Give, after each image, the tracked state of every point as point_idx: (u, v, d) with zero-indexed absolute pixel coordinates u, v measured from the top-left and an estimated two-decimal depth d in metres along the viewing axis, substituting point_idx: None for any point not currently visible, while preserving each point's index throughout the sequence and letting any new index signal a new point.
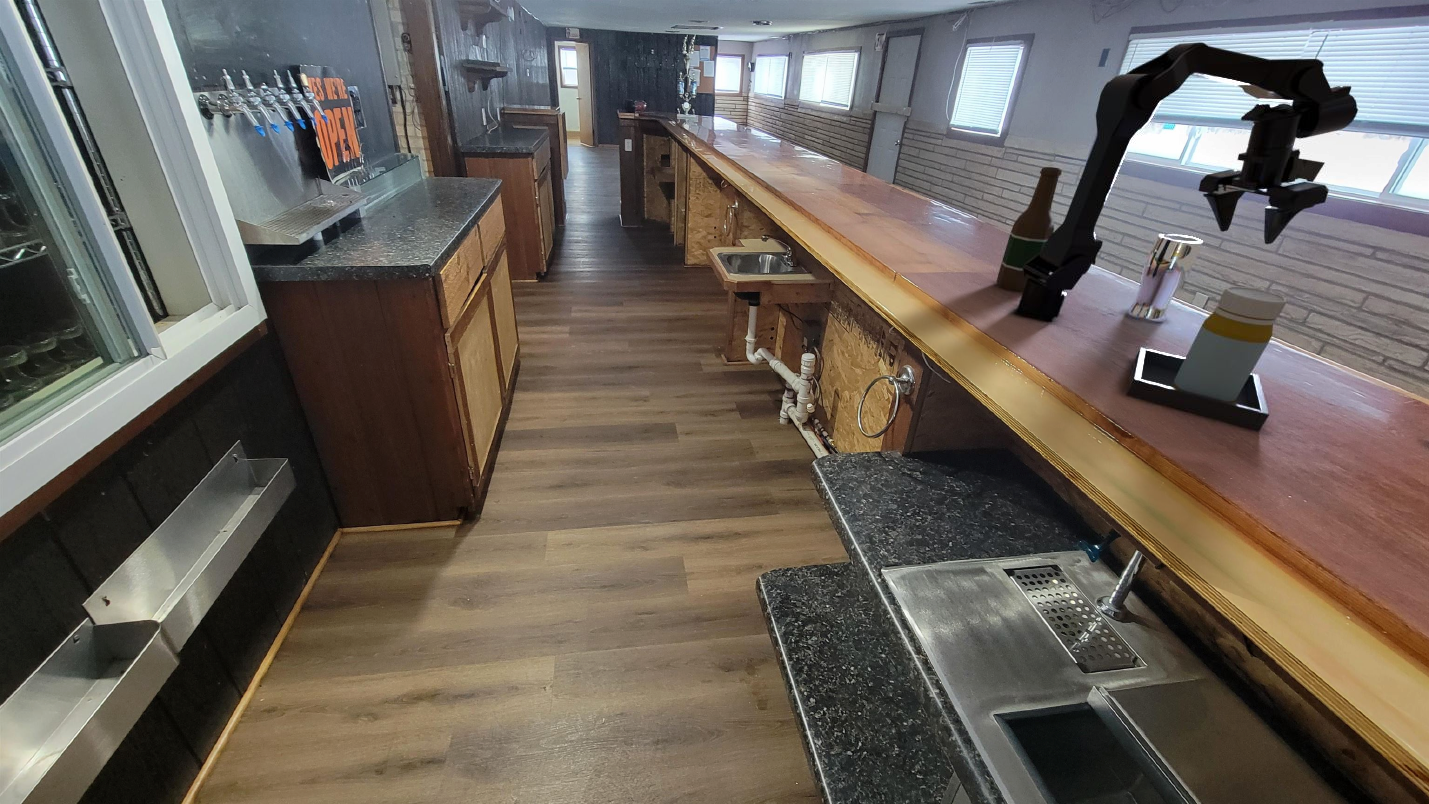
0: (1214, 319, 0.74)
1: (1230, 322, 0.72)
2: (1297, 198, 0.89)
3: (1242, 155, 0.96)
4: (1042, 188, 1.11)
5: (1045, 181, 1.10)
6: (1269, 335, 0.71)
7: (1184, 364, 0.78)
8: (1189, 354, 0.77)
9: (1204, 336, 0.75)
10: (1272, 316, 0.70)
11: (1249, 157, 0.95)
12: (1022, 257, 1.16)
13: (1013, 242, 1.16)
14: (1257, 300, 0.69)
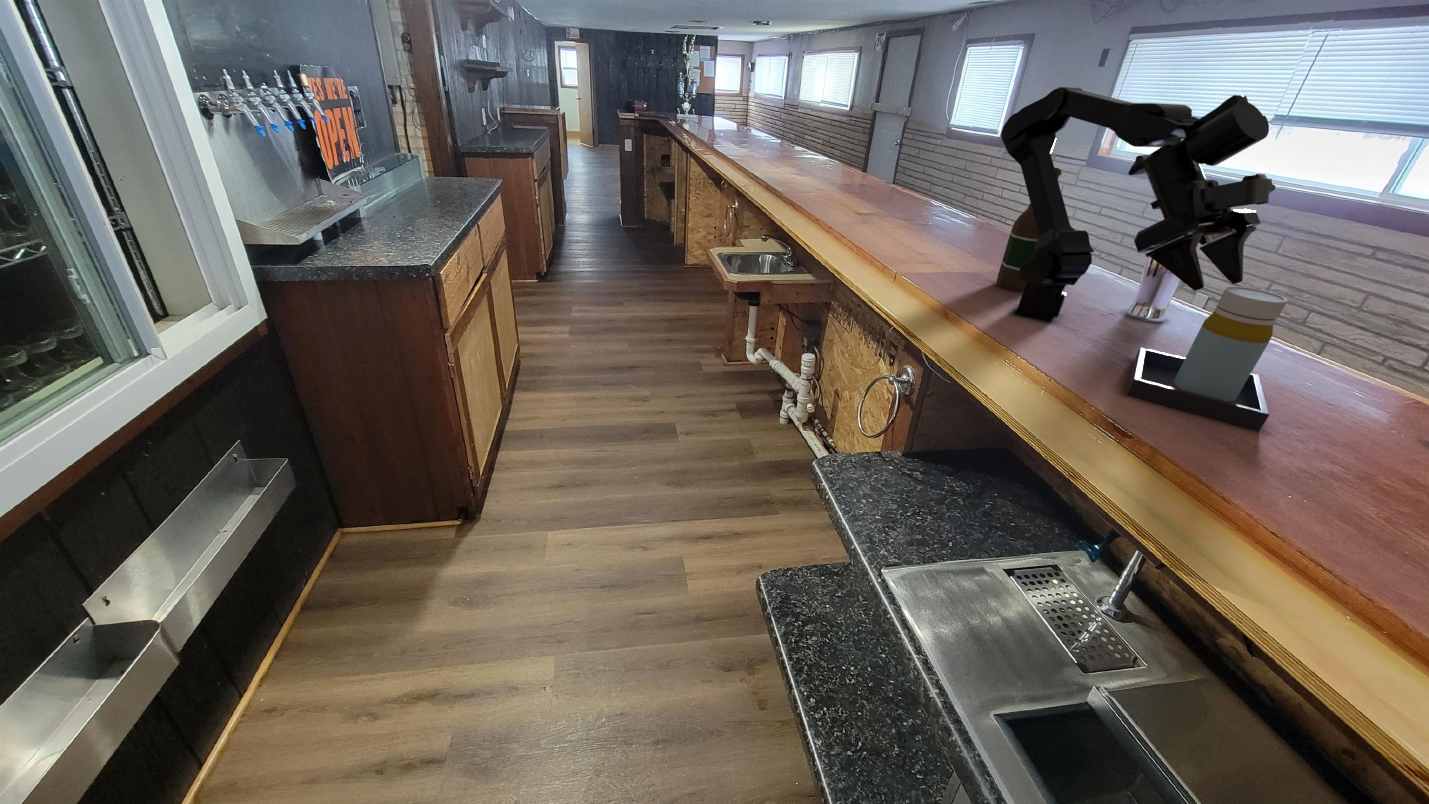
0: (1214, 319, 0.74)
1: (1231, 322, 0.72)
2: (1137, 238, 0.79)
3: None
4: None
5: None
6: (1269, 335, 0.71)
7: (1184, 364, 0.78)
8: (1189, 354, 0.77)
9: (1204, 336, 0.75)
10: (1272, 316, 0.70)
11: None
12: (1022, 257, 1.16)
13: (1013, 242, 1.16)
14: (1257, 300, 0.69)
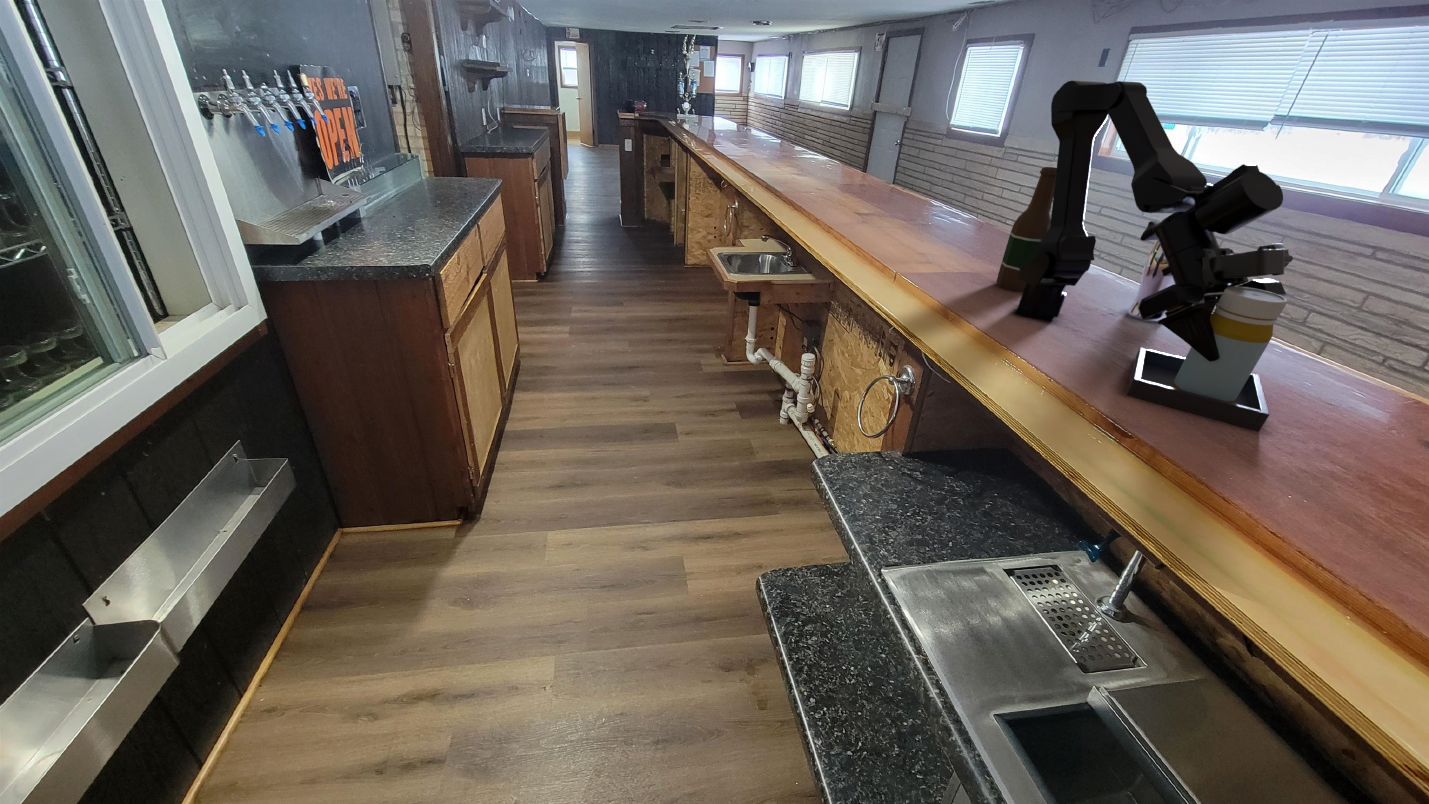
0: (1214, 319, 0.74)
1: (1231, 322, 0.72)
2: (1140, 306, 0.76)
3: None
4: (1042, 188, 1.11)
5: (1045, 181, 1.10)
6: (1269, 335, 0.71)
7: (1184, 364, 0.78)
8: (1189, 354, 0.77)
9: None
10: (1272, 316, 0.70)
11: None
12: (1022, 257, 1.16)
13: (1013, 242, 1.16)
14: (1257, 300, 0.69)
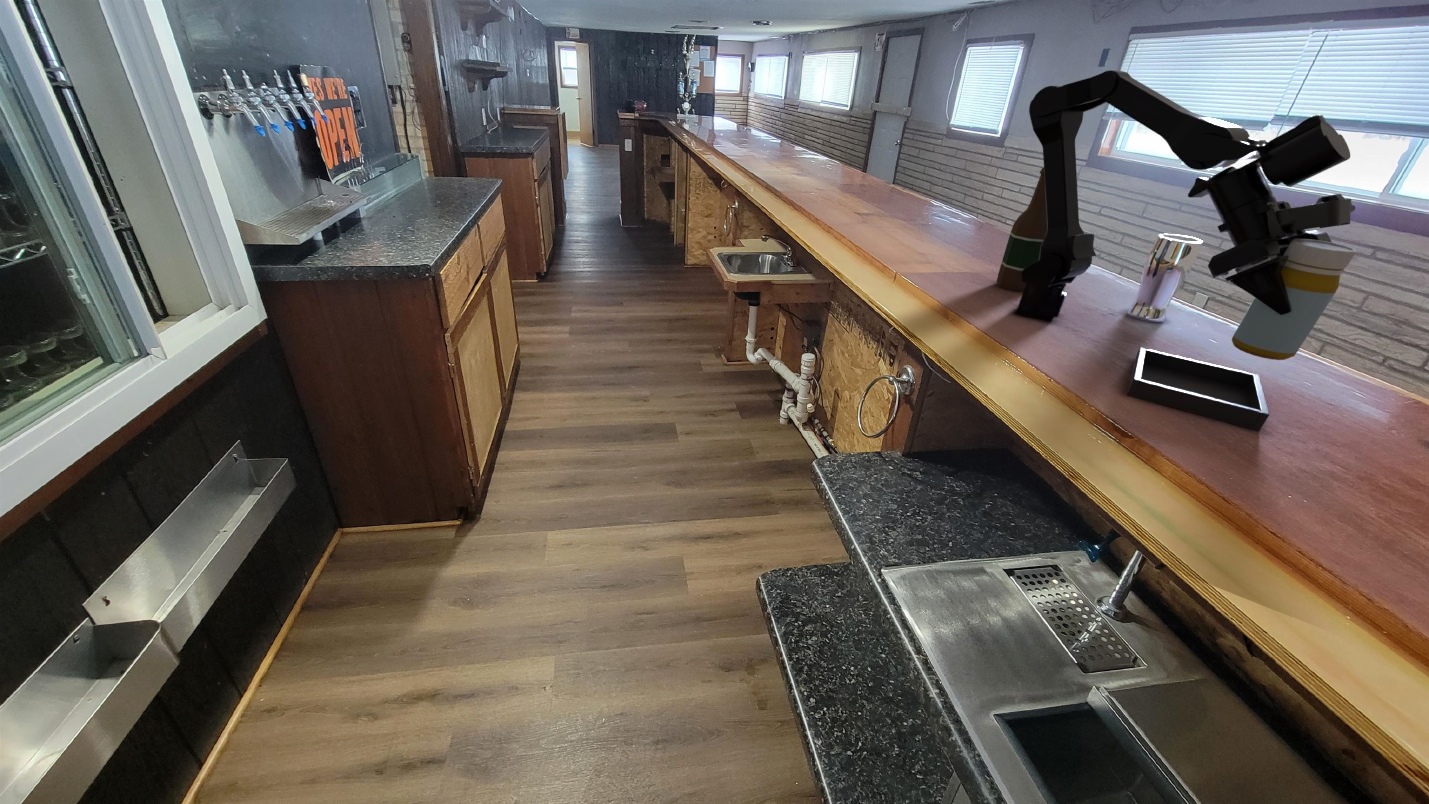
0: (1284, 272, 0.74)
1: (1304, 274, 0.72)
2: (1212, 263, 0.75)
3: None
4: (1042, 188, 1.11)
5: None
6: (1338, 285, 0.72)
7: (1248, 319, 0.78)
8: (1254, 309, 0.77)
9: None
10: (1344, 266, 0.71)
11: None
12: (1022, 257, 1.16)
13: (1013, 242, 1.16)
14: (1333, 251, 0.70)
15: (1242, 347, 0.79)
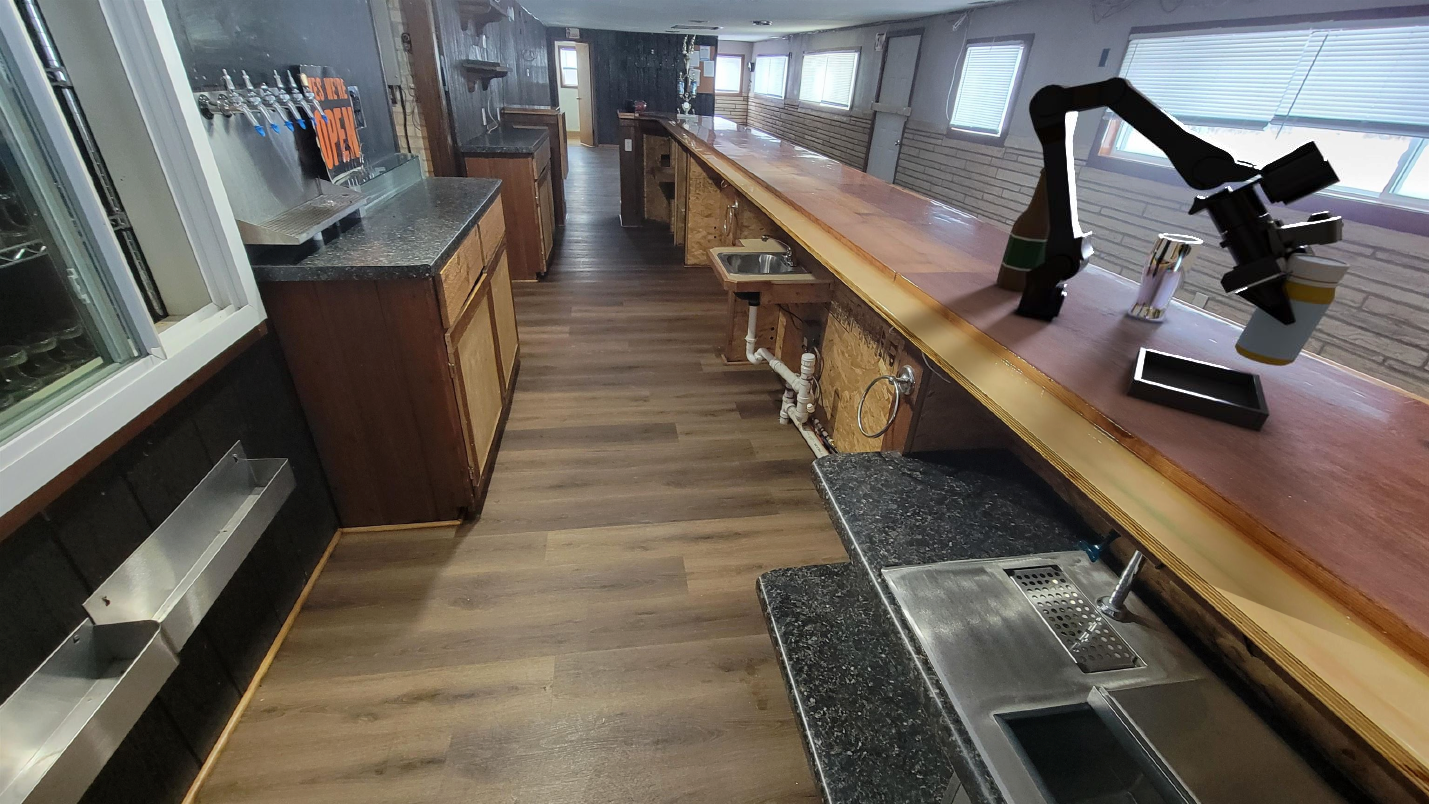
0: (1287, 286, 0.79)
1: (1306, 287, 0.78)
2: (1225, 280, 0.79)
3: None
4: (1042, 188, 1.11)
5: None
6: None
7: (1253, 329, 0.83)
8: (1258, 320, 0.83)
9: None
10: (1341, 279, 0.77)
11: None
12: (1022, 257, 1.16)
13: (1013, 242, 1.16)
14: (1333, 266, 0.75)
15: (1248, 355, 0.84)
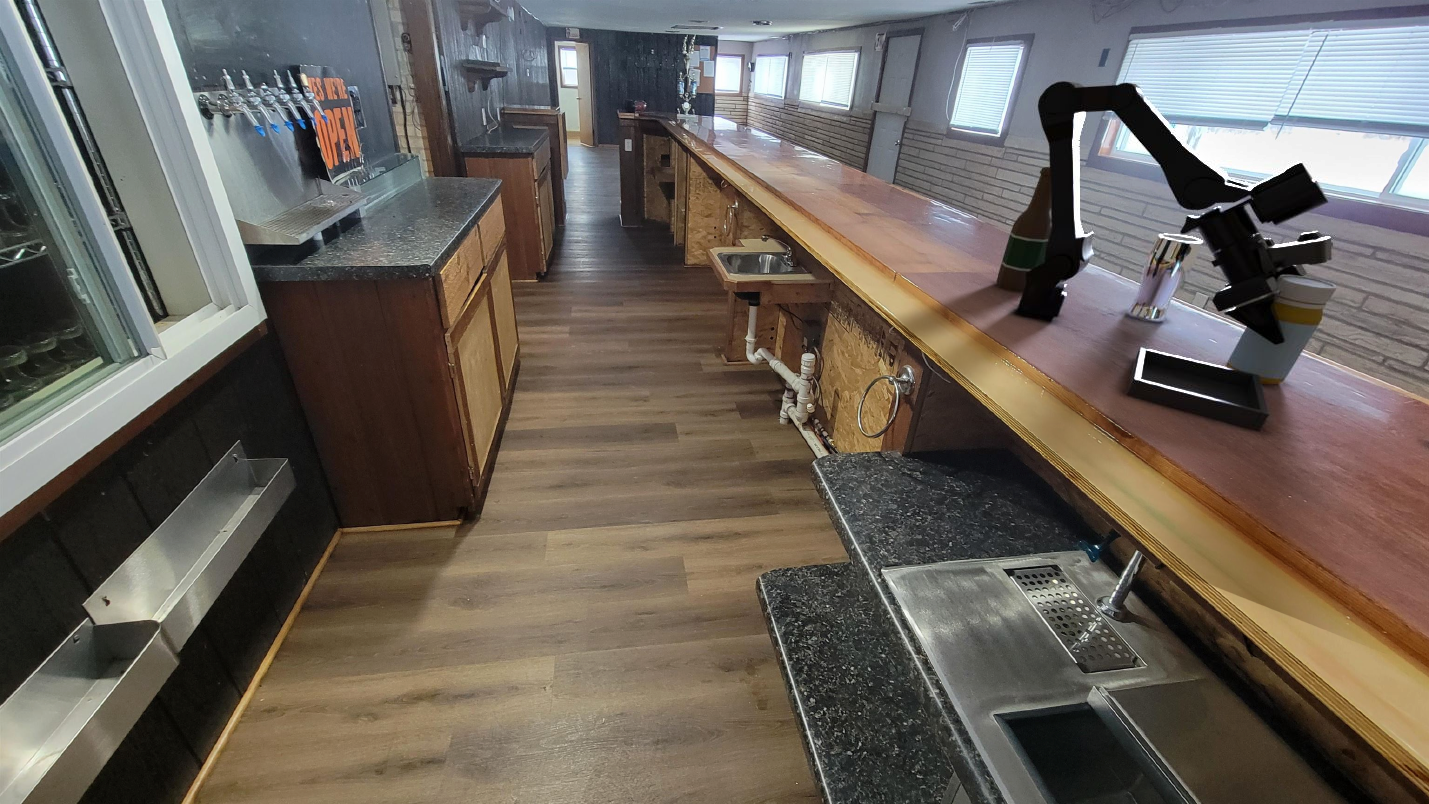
0: (1275, 307, 0.81)
1: (1294, 308, 0.79)
2: (1217, 299, 0.81)
3: None
4: (1042, 188, 1.11)
5: (1045, 181, 1.10)
6: (1321, 317, 0.80)
7: (1243, 349, 0.85)
8: (1248, 339, 0.84)
9: None
10: (1328, 300, 0.78)
11: None
12: (1022, 257, 1.16)
13: (1013, 242, 1.16)
14: (1319, 288, 0.77)
15: None
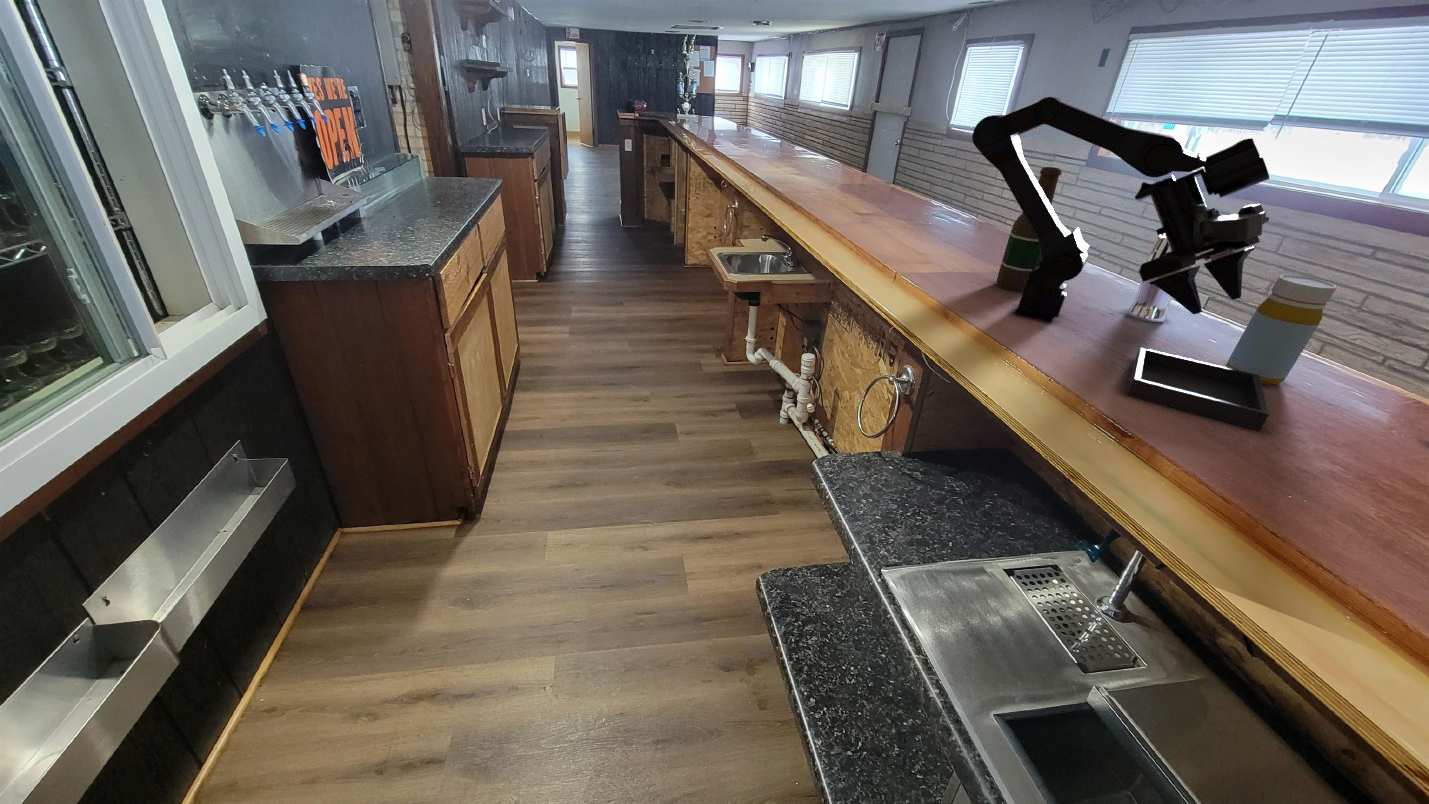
0: (1275, 307, 0.81)
1: (1294, 308, 0.79)
2: (1141, 270, 0.88)
3: None
4: (1042, 188, 1.11)
5: (1045, 181, 1.10)
6: (1321, 317, 0.80)
7: (1243, 349, 0.85)
8: (1248, 339, 0.84)
9: (1266, 322, 0.82)
10: (1327, 300, 0.78)
11: None
12: (1022, 257, 1.16)
13: (1013, 242, 1.16)
14: (1319, 288, 0.77)
15: None
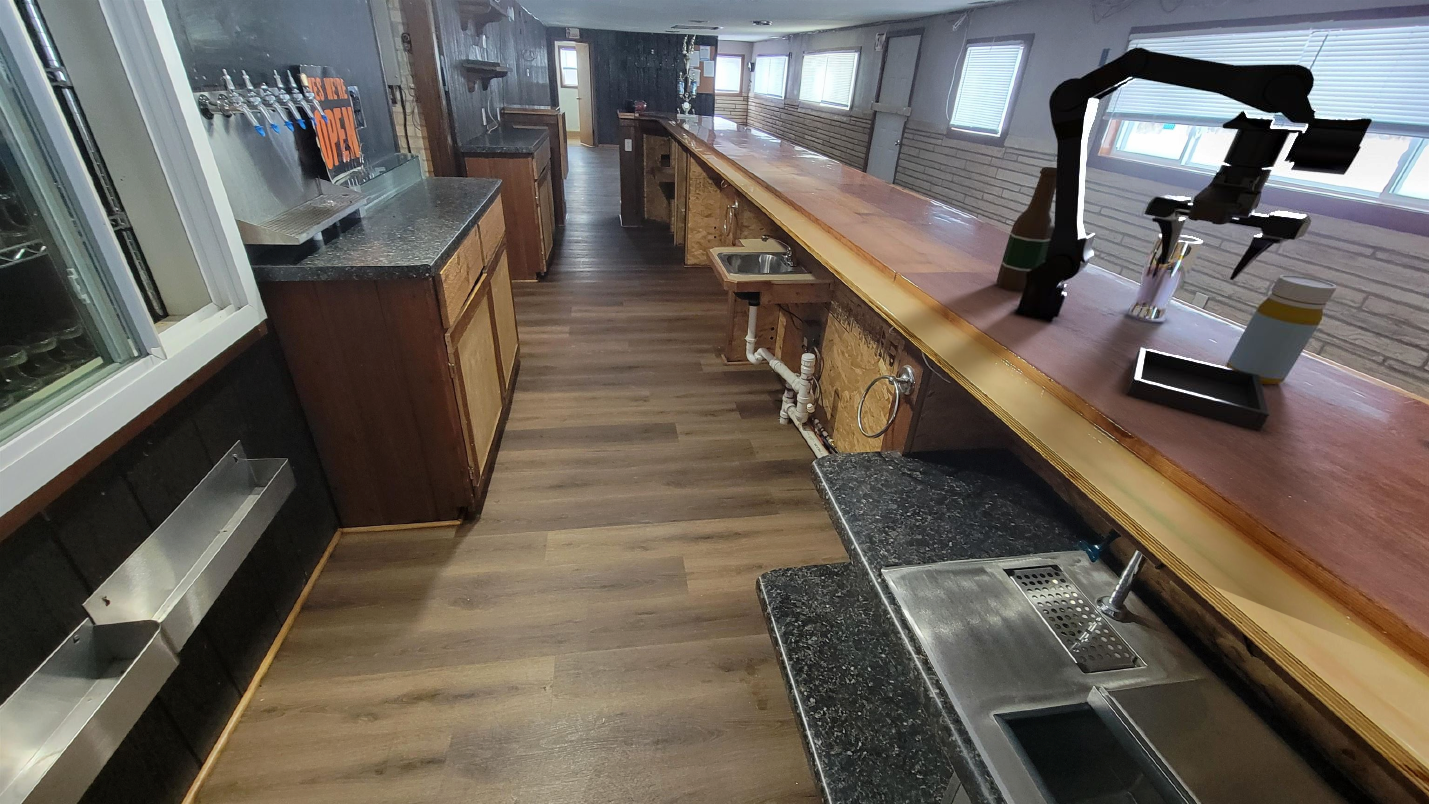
0: (1275, 307, 0.81)
1: (1294, 308, 0.79)
2: None
3: None
4: (1042, 188, 1.11)
5: (1045, 181, 1.10)
6: (1321, 317, 0.80)
7: (1243, 349, 0.85)
8: (1248, 339, 0.84)
9: (1266, 322, 0.82)
10: (1327, 300, 0.78)
11: None
12: (1022, 257, 1.16)
13: (1013, 242, 1.16)
14: (1319, 288, 0.77)
15: None
